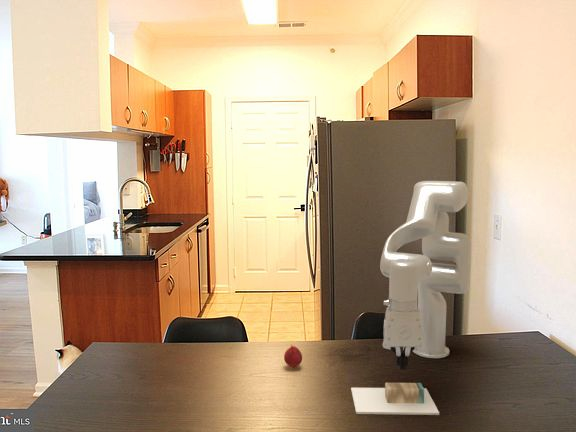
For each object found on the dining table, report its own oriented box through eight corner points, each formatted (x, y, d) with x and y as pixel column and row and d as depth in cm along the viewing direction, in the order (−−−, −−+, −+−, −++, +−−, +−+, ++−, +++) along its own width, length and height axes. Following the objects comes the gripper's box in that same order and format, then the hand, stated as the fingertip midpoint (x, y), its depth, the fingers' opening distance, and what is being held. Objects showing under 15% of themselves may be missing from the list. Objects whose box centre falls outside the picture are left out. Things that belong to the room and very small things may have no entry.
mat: (356, 413, 134) (356, 411, 134) (351, 389, 148) (351, 387, 148) (439, 414, 133) (439, 412, 133) (426, 390, 147) (426, 388, 147)
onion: (304, 365, 164) (304, 342, 163) (299, 373, 159) (299, 348, 158) (287, 363, 166) (287, 340, 165) (281, 370, 161) (281, 346, 160)
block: (387, 389, 138) (424, 389, 138) (385, 382, 142) (420, 383, 141) (387, 402, 138) (423, 403, 138) (385, 396, 142) (420, 396, 142)
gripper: (377, 309, 134) (376, 374, 136) (434, 308, 133) (432, 374, 136) (373, 300, 141) (372, 362, 144) (427, 300, 141) (425, 361, 143)
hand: (401, 367), depth 140 cm, fingers closed
